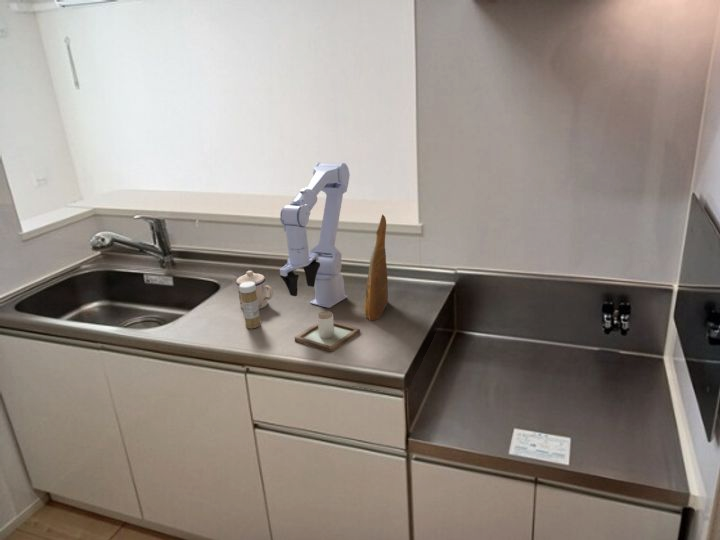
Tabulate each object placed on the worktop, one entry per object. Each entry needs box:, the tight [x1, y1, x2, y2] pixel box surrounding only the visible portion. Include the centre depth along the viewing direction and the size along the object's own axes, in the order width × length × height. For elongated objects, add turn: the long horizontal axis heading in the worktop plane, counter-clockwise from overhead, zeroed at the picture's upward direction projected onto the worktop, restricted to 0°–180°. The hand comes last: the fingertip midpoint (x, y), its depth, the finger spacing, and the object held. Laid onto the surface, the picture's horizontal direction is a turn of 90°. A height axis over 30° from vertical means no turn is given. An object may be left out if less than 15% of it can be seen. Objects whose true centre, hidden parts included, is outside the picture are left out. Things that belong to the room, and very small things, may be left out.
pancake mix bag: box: [364, 213, 389, 322], centre depth 169 cm, size 7×19×28 cm, turn 165°
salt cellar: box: [316, 310, 335, 339], centre depth 158 cm, size 4×4×7 cm
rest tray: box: [294, 321, 361, 353], centre depth 159 cm, size 13×13×1 cm
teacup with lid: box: [236, 270, 274, 310], centre depth 180 cm, size 12×9×12 cm
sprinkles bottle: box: [239, 282, 262, 329], centre depth 166 cm, size 5×5×14 cm
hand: (302, 290), depth 166 cm, fingers open, 7 cm apart
